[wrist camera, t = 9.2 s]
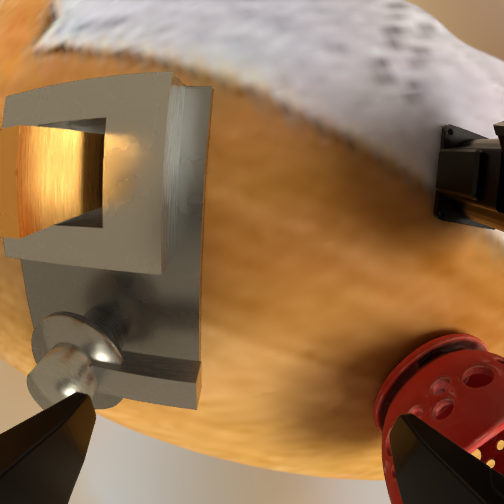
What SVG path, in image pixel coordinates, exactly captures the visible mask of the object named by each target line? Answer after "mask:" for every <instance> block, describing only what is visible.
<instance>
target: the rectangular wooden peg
mask: <svg viewBox="0 0 504 504" xmlns="http://www.w3.org/2000/svg"><path fill="white" fill-rule="evenodd" d="M104 142H105V134H98V133H91V132H83V131H75V130H66V129H57V128H47V127H36V126H23V125H18V126H13V127H8V128H3V129H0V237H5V238H17V239H20V238H23V237H25V236H28V235H30V234H32V233H35V232H37V231H40V230H42V229H45V228H47V227H50V226H52V225H55V224H57V223H60V222H63V221H65V220H68V219H70V218H73V217H76V216H79V215H81V214H84V213H87V212H90V211H92V210H95V209H98V208H101V207H103V160H104Z"/></svg>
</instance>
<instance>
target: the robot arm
mask: <svg viewBox="0 0 504 504" xmlns="http://www.w3.org/2000/svg"><path fill="white" fill-rule="evenodd" d="M493 126H494V130H495V133H496V135H498V138H499V139H488V138H486V137H483V136H481V135H478V134H475V133H473V132H470V131H467V130H465V129H462V128H459V127H456V126H453V125H444V126H443V127H442V135H441V151H440V153H439V164H438V174H437V183H436V188H437V190H436V198H435V205H434V216H435V218H437V219H439V220H442V221H448V222H454V223H460V224H466V225H471V226H477V227H482V228H488V229H493V230H494V229H498V230H500V231H503V232H504V121H502V122H499V123H496V124H494V125H493ZM448 129H449V130H450V135H449V134H448ZM441 209H442V214H441V215H440V214H439V212H440V210H441ZM95 421H96V413H95V410H94V407H93V403H92V400H91V397H90V396H89V395H88V394H85V393H81V392H75V393H73V394H71V395H70V396H68V397H66V398H65V399H63V400H61V401H59V402H57V403H56V404H54V405H52V406H50V407H49V408H47V409H45V410H43V411H41V412H40V413H38V414H36V415H34V416H33V417H31V418H29V419H27V420H25V421H24V422H22V423H20V424H18V425H16V426H14V427H13V428H11V429H9V430H7V431H5V432H3V433H2V434H0V504H68V502H69V499H70V496H71V494H72V491H73V488H74V486H75V483H76V481H77V478H78V475H79V473H80V470H81V468H82V465H83V463H84V460H85V456H86V453H87V449H88V445H89V442H90V438H91V435H92V431H93V428H94V424H95ZM389 441H390V447H391V452H392V458H393V464H394V471H395V476H396V481H397V485H398V488H399V492H400V495H401V499H402V503H403V504H504V475H502V474H500V473H499V472H497V471H496V470H494V469H493V468H490V467H489V466H488V465H486V464H485V463H483V462H482V461H480V460H479V459H477V458H476V457H474V456H473V455H472V454H470V453H469V452H467V451H466V450H464V449H463V448H461V447H460V446H458V445H457V444H455V443H454V442H452V441H451V440H450V439H448V438H447V437H445V436H444V435H442V434H441V433H440V432H438V431H437V430H435V429H434V428H432V427H431V426H430V425H428V424H427V423H425V422H424V421H422V420H421V419H420V418H418V417H417V416H415V415H414V414H412V413H406V414H400V415H399V416H398V417H397V419H396V421H395V423H394V425H393V427H392V429H391V431H390V434H389Z"/></svg>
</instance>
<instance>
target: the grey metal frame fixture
mask: <svg viewBox="0 0 504 504" xmlns="http://www.w3.org/2000/svg"><path fill="white" fill-rule="evenodd" d="M213 91H214V90H213V88H212V87H207V86H185V85H184V84H183V83H182V82H181V81H180V79H179V78H178V77H177V76H176V75H175V74H174V73H173V72H172V71H171V72H150V73H136V74H125V75H115V76H106V77H99V78H91V79H85V80H78V81H73V82H67V83H62V84H56V85H51V86H47V87H42V88H38V89H33V90H29V91H25V92H21V93H18V94H14V95H10V96H7V97H6V100H5V107H4V116H3V126H2V129H3V128H8V127H13V126H18V125H23V126H36V127H47V128H57V129H66V130H75V131H83V132H91V133H98V134H105V142H104V160H103V207H101V208H98V209H95V210H92V211H90V212H87V213H84V214H81V215H79V216H76V217H73V218H70V219H68V220H65V221H63V222H60V223H57V224H55V225H52V226H50V227H47V228H45V229H42V230H40V231H37V232H35V233H32V234H30V235H28V236H25V237H23V238H20V239H17V238H5V237H3V240H4V249H5V256H6V257H10V258H17V259H21V263H22V270H23V276H24V283H25V288H26V294H27V299H28V304H29V309H30V314H31V318H32V323H33V327H34V331H33V334H32V352H33V356H34V358H35V361H36V363H37V365H36V366H35V368H34V369H33V370H32V371H31V372H30V373H29V375H28V376H27V386H28V389H29V391H30V393H31V395H32V397H33V398H34V400H35V401H36V402H37V403H38V404H39V406H41V408H42V409H44V410H45V409H47V408H49V407H50V406H52V405H54V404H56V403H57V402H59V401H61V400H63V399H65V398H66V397H68V396H70V395H71V394H73V393H75V392H81V393H85V394H88V395H89V396H90V397H91V400H92V403H93V407H94V409H107V408H111V407H113V406H115V405H117V404H118V403H119V402H120V401H121V400H122V399H123V398H127V399H132V400H137V401H142V402H148V403H153V404H159V405H165V406H172V407H179V408H186V409H194V410H197V407H198V402H199V397H200V392H201V284H202V252H203V228H204V208H205V191H206V175H207V160H208V147H209V134H210V123H211V111H212V101H213Z"/></svg>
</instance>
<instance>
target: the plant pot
mask: <svg viewBox="0 0 504 504" xmlns="http://www.w3.org/2000/svg"><path fill="white" fill-rule="evenodd" d="M373 412H374V421H375V424H376V426H377V428H378V430H379V431H380V432H381V433H382V434H383V435H382V462H383V470H384V476H385V481H386V485H387V490H388V494H389V497H390V501H391V504H403V503H402V499H401V495H400V492H399V488H398V485H397V481H396V476H395V471H394V464H393V458H392V452H391V447H390V441H389V434H390V431H391V429H392V427H393V425H394V423H395V421H396V419H397V417H398V416H399V415H400V414H406V413H412V414H414V415H415V416H417V417H418V418H420V419H421V420H422V421H424V422H425V423H427V424H428V425H430V426H431V427H432V428H434V429H435V430H437V431H438V432H440V433H441V434H442V435H444V436H445V437H447V438H448V439H450V440H451V441H452V442H454V443H455V444H457V445H458V446H460V447H461V448H463V449H464V450H466V451H467V452H469V453H470V454H471V453H472V452H473V451H475V450H476V449H479V450H480V452H481V460H480V461H482V462H483V463H485V464H486V463H487V462H488V461H489V460H491V459H493V460H494V461H495V465H494V467H493V469H494V470H496V471H497V472H499V473H500V474H502V475H504V448H503V449H502V450H498V449H497V444H498V442H499V441H500V440H503V441H504V358H503V357H501V356H499V355H496V354H493V353H490V352H488V350H487V347H486V346H485V344H484V343H483V342H482V341H481V340H480V339H478V338H477V337H474V336H472V335H469V334H459V333H458V334H450V335H445V336H442V337H439V338H436V339H434V340H431V341H429V342H427V343H425V344H424V345H422V346H420V347H419V348H417V349H416V350H414V351H413V352H412V353H410V354H409V355H408V356H407V357H406V358H404V359H403V360H402V361H401V362H400V363H399V364H398V365H397V366H396V367H395V368H394V369H393V371H392V372H391V373H390V374H389V376H388V377H387V378H386V380H385V381H384V383H383V385H382V386H381V388H380V390H379V392H378V395H377V397H376V400H375V404H374V411H373Z"/></svg>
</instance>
